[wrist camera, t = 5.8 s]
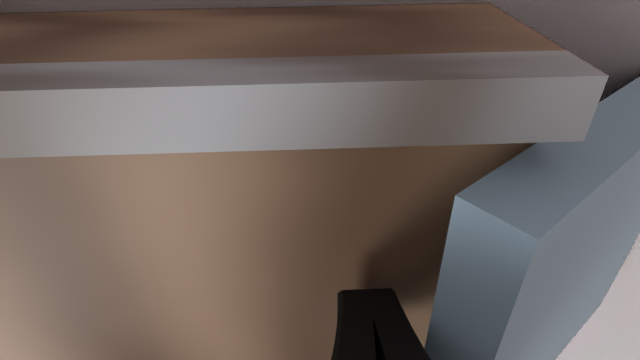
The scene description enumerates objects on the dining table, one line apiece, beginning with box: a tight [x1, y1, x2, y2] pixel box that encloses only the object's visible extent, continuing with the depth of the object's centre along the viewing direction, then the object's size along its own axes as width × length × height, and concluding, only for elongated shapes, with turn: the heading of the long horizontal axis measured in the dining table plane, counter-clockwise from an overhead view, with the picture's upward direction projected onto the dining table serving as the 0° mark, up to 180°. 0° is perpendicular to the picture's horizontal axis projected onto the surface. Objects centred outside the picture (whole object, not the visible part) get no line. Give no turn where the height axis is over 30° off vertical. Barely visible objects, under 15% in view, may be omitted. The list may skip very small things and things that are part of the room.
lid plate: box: [424, 77, 640, 360], centre depth 12 cm, size 10×9×2 cm
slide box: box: [0, 3, 609, 360], centre depth 12 cm, size 22×13×5 cm, turn 91°
